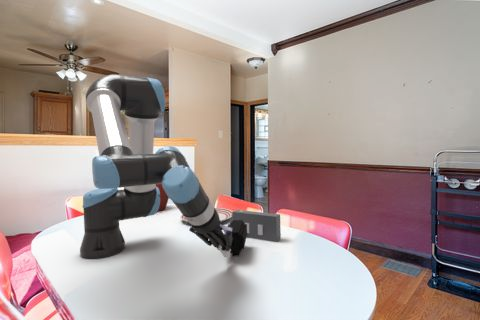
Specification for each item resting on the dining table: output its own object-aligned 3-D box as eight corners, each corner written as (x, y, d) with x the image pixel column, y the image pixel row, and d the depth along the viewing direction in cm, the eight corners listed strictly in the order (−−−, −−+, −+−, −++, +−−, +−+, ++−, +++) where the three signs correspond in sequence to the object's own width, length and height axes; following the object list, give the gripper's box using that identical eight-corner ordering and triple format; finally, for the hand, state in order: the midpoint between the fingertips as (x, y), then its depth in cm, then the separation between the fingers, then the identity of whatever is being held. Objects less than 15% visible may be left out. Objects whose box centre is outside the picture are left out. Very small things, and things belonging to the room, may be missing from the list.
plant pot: (155, 205, 182) (154, 180, 181) (173, 209, 170) (172, 182, 169) (128, 211, 167) (126, 183, 166) (145, 215, 155) (144, 186, 154)
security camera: (248, 243, 107) (247, 218, 106) (244, 263, 88) (243, 233, 88) (230, 243, 108) (229, 218, 107) (222, 263, 89) (221, 233, 89)
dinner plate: (226, 228, 127) (226, 221, 127) (171, 226, 133) (171, 220, 133) (238, 214, 154) (238, 208, 154) (192, 213, 160) (192, 207, 159)
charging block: (276, 242, 107) (276, 216, 106) (232, 235, 117) (231, 211, 116) (280, 238, 111) (280, 213, 110) (237, 232, 121) (236, 209, 120)
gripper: (173, 225, 71) (205, 262, 87) (220, 229, 66) (244, 267, 83) (184, 200, 75) (212, 240, 92) (228, 202, 71) (249, 244, 87)
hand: (227, 253), depth 87 cm, fingers closed
